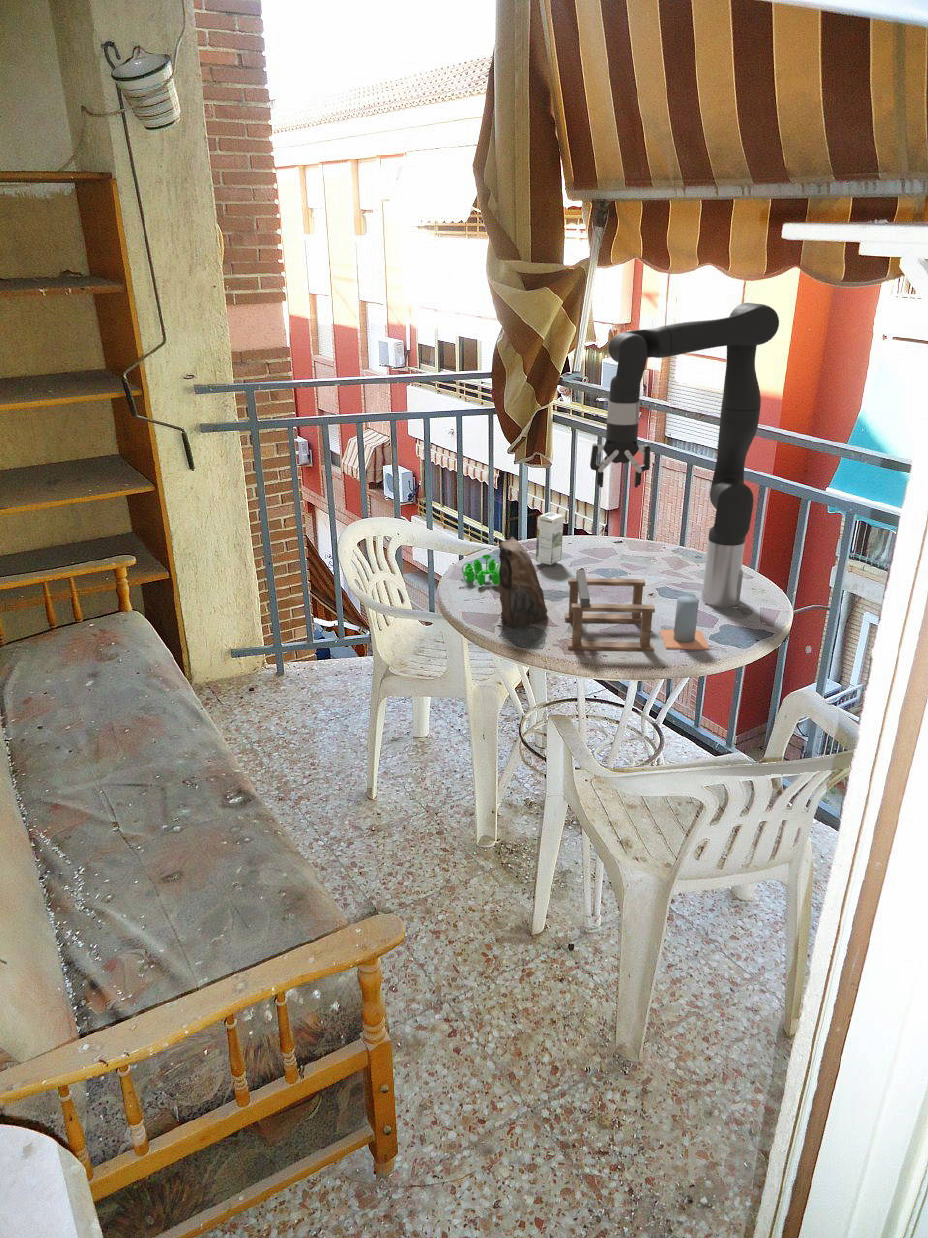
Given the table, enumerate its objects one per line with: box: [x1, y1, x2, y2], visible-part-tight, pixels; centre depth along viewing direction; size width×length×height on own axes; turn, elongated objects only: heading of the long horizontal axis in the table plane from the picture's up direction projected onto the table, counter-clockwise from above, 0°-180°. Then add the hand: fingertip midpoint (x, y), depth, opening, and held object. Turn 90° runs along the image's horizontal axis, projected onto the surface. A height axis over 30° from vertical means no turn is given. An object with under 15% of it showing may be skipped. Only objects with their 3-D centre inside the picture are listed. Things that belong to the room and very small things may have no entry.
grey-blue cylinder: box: [673, 595, 700, 643], centre depth 203 cm, size 5×5×10 cm
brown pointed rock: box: [496, 536, 549, 629], centre depth 216 cm, size 13×13×20 cm
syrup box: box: [535, 512, 565, 566], centre depth 257 cm, size 6×6×14 cm
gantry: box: [564, 577, 656, 651], centre depth 208 cm, size 20×20×11 cm
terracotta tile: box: [659, 629, 710, 650], centre depth 205 cm, size 10×10×1 cm
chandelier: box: [461, 554, 501, 587], centre depth 245 cm, size 15×15×7 cm
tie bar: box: [575, 569, 591, 607], centre depth 206 cm, size 2×19×2 cm, turn 176°
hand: (618, 486), depth 210 cm, fingers open, 8 cm apart
